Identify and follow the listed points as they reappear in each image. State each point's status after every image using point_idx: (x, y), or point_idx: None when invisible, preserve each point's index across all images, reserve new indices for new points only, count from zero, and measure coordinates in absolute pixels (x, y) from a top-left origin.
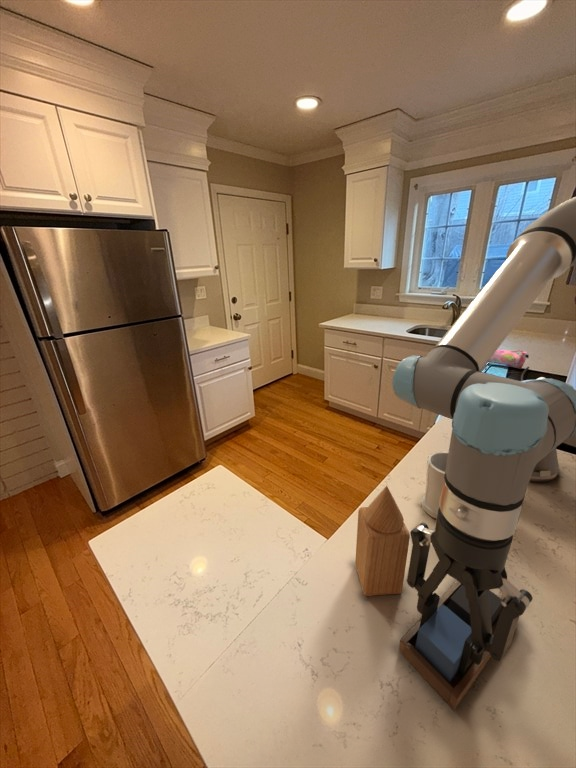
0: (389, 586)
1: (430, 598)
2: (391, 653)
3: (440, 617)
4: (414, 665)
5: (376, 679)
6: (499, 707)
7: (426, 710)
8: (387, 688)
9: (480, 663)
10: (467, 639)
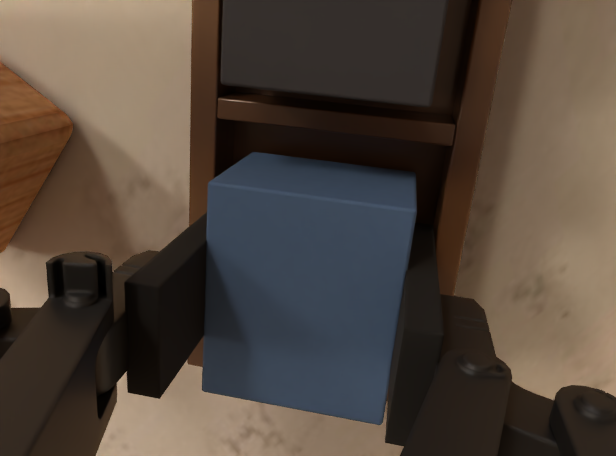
0: (12, 194)
1: (131, 336)
2: None
3: (239, 267)
4: None
5: (216, 444)
6: (553, 261)
7: (363, 422)
8: (251, 444)
9: (460, 228)
10: (392, 428)
